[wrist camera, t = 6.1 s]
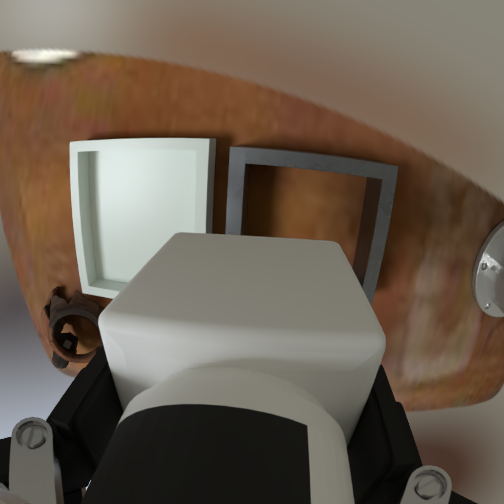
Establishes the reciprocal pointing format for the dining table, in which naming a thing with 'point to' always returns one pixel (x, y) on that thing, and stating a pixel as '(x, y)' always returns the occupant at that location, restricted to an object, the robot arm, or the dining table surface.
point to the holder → (377, 172)
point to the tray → (136, 203)
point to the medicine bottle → (237, 374)
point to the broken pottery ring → (54, 323)
